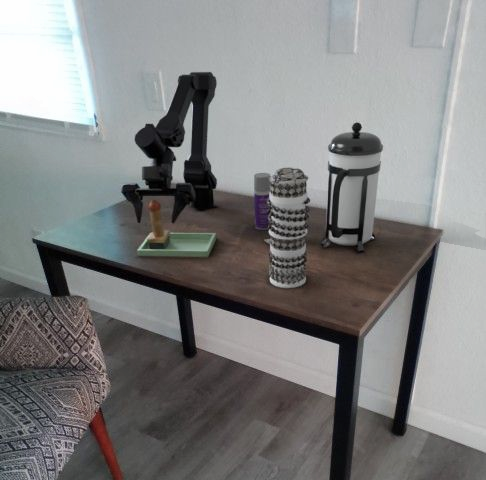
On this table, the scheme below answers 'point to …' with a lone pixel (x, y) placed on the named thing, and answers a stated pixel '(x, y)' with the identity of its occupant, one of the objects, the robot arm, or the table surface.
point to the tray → (182, 245)
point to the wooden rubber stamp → (157, 228)
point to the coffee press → (352, 188)
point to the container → (261, 200)
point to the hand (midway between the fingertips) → (155, 222)
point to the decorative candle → (288, 227)
